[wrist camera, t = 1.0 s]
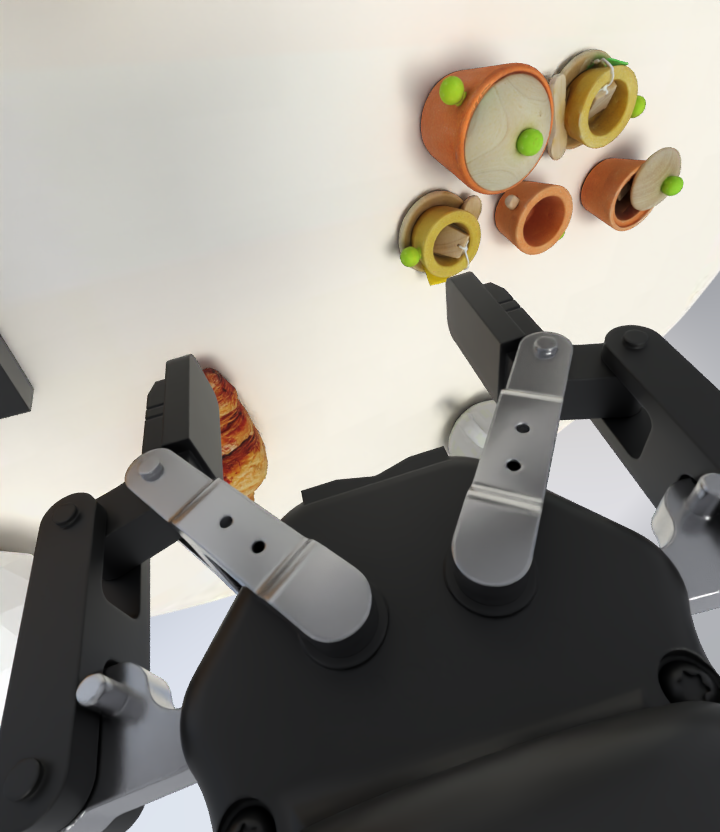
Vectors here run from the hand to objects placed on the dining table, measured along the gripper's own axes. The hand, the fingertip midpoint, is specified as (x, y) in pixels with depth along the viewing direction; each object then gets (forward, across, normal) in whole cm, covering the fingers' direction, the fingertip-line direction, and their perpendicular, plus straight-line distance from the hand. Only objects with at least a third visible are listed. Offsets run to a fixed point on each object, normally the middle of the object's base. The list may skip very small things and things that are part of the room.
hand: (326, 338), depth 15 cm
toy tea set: (+27, -21, +8) cm, 35 cm away
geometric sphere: (+16, +35, +25) cm, 46 cm away
